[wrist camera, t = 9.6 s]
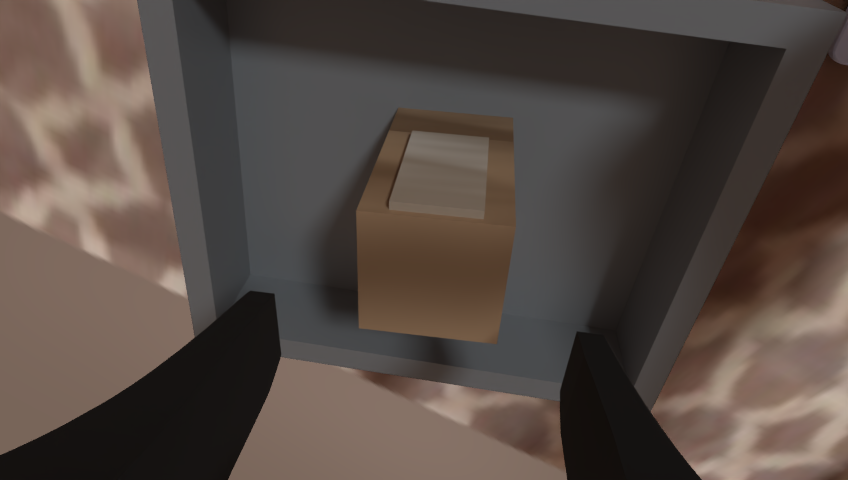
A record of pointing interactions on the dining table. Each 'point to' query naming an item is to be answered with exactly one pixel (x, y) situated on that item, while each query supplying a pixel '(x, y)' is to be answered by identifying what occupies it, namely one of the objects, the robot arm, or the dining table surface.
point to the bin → (533, 160)
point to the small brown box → (438, 227)
